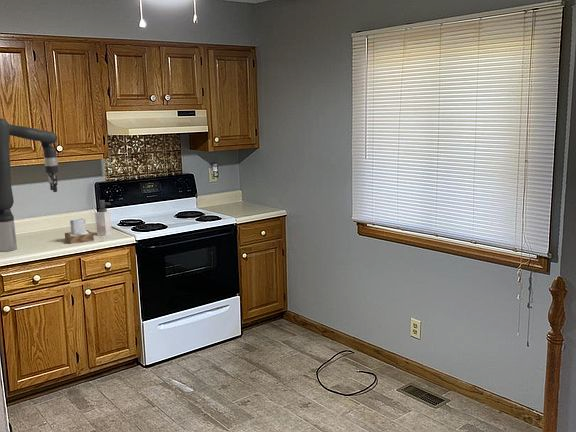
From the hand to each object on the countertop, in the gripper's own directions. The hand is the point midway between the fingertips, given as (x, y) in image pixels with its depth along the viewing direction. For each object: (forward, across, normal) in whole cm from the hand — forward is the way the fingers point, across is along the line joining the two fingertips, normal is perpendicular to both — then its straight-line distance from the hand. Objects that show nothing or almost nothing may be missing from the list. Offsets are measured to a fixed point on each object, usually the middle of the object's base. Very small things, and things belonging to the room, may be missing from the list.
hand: (53, 191), depth 356 cm
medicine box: (+26, +12, +10) cm, 30 cm away
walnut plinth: (+30, +12, +10) cm, 34 cm away
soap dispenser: (+30, +6, +28) cm, 42 cm away
